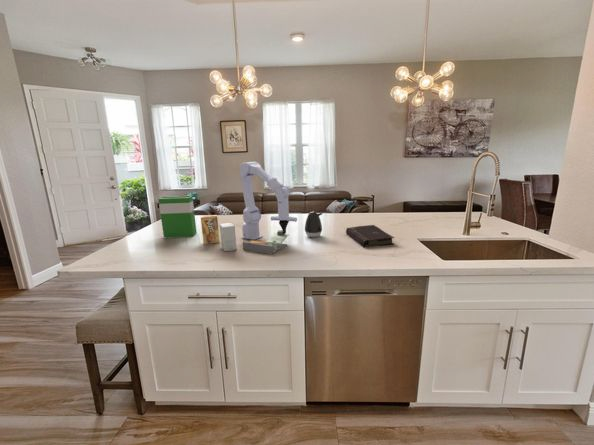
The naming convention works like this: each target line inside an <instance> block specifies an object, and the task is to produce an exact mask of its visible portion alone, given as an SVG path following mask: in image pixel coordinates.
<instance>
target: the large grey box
mask: <svg viewBox="0 0 594 445" xmlns="http://www.w3.org/2000/svg"><path fill="white" fill-rule="evenodd" d="M257 241H258V242H265V243H266V241H267V240H257ZM284 247H287V243H282V244H270V243H268V245H265V244H258V243H251V242H250V241H242V250H245V251H250V252H256V253H261V254H262V253H263V254H268V255H273V254H275V253H277V252H278V251H281V249H283V248H284Z"/></svg>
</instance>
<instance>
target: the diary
mask: <svg viewBox="0 0 594 445" xmlns="http://www.w3.org/2000/svg"><path fill="white" fill-rule="evenodd" d="M345 233H346V235H347V236H349V237H350V239H353V241H355V243H357V244H358V245H360V246H361V247H362V248H365V247H367V248H368V247H375V246H376V247H384V246H385V247H386V246H393V245H394V243H393V239H395V237H394V236H393V235H391V234H389V233H387V232H385V231H384V230H383V229H381V228H380V227H378V226H376V225H375V224H369V225H359V226H352V227H347V228H346V230H345Z"/></svg>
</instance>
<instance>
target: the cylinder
mask: <svg viewBox="0 0 594 445" xmlns="http://www.w3.org/2000/svg"><path fill="white" fill-rule="evenodd" d="M258 241H259V240H257V241H256V240H250V241H249V242H251V243H258V244H265V245H268V243H265V242H258Z"/></svg>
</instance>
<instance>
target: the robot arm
mask: <svg viewBox="0 0 594 445" xmlns="http://www.w3.org/2000/svg"><path fill="white" fill-rule="evenodd" d="M238 169H239V174H240V175H239V176H240V177H239V179H240V183H241V189H242V194H243V200H244V205H245V208H244V209H243V211H242V215H243V216H242V218H243V219H242V220H243V221H244V222H243V224H242V228H241V229H242V238H243V239H248V240H252V241H256V240H257V239H260V238H262V237H263V235H262V234H260V220H261V218H262V214H261V212H260V209H259V207H257V206H256V202H255V197H254V191H253V186H252V180H251V179H252V177H253V176H254V175H257V176H259V177H260V178H261V179H262V180H264V182H266V187H268V188H269V189H270V190H271V191H272V192H274V195H275V197H276V200H277V215H275V216H271V217H270V221H271V222H272V221H278V224H279V226H280V228H281V230H283V234H287V227H288V224H289V222H294V223H296V222H298V217H294V216H290V213H289V212H290V211H289V208H290V206H289V205H290V204H289V196H290V195H291V190H290V188H289V187H288V186H287V185H284V184H282V182H279V180H278V178H277V177H271V176H270V175H269V174H268V173H267V172H266V171H265V170H264V169H263V168H262V166H261V164H260V163H259V162H257V160H254V161H247V162H246V161H243V162H242V163H241V164H240V165H239V168H238Z"/></svg>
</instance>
